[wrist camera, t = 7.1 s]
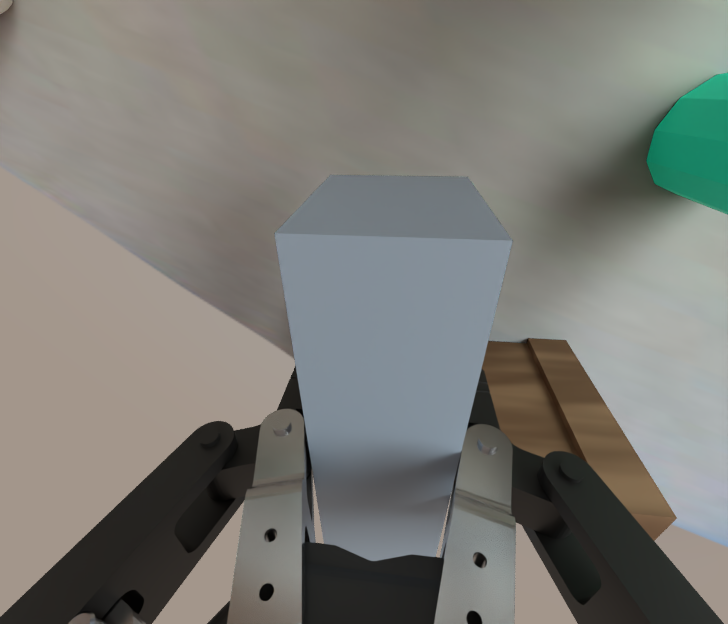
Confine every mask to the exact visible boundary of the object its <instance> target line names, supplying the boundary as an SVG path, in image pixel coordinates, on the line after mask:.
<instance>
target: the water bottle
mask: <svg viewBox="0 0 728 624" xmlns="http://www.w3.org/2000/svg"><path fill="white" fill-rule="evenodd" d="M12 2H13V0H0V14H2V13H3V12H5V11H6V10H8V8H9V7H10V6H11V5H12Z"/></svg>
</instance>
